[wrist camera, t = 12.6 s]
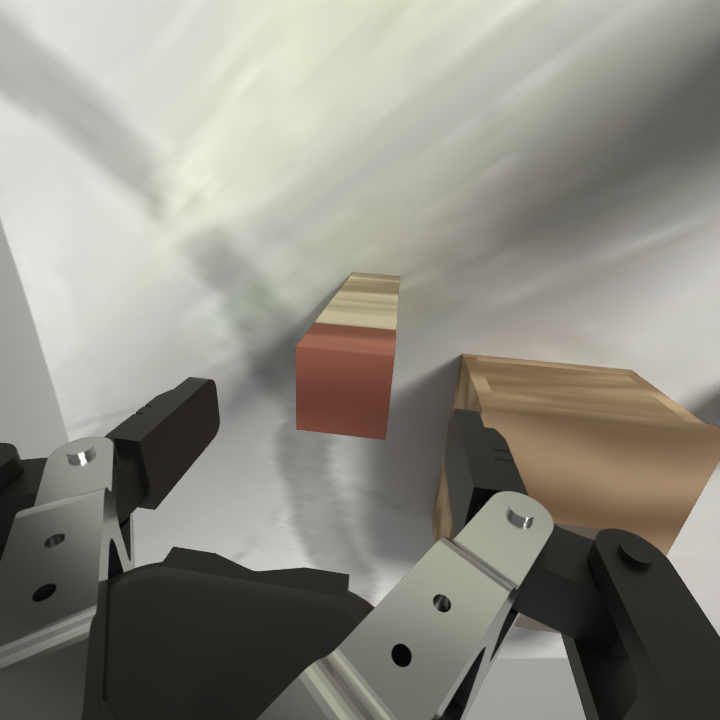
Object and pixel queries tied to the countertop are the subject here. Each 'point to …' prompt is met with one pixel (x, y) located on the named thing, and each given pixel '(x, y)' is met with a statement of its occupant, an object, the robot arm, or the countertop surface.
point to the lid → (607, 469)
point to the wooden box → (551, 399)
